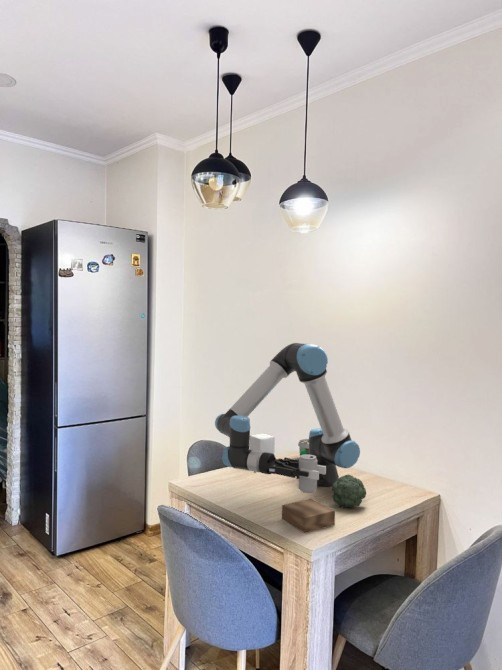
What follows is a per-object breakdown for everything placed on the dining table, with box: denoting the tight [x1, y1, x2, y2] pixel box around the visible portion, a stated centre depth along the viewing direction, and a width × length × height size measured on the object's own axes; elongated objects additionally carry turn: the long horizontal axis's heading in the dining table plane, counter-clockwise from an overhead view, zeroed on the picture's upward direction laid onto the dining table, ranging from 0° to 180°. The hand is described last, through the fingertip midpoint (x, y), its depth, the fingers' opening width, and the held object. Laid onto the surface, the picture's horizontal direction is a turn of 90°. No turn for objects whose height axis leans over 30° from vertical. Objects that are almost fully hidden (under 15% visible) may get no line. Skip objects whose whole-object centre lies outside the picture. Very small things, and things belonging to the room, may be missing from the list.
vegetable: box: [331, 474, 367, 509], centre depth 184 cm, size 12×13×15 cm
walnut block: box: [281, 498, 336, 534], centre depth 167 cm, size 13×13×5 cm
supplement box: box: [249, 433, 276, 455], centre depth 230 cm, size 9×9×15 cm
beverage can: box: [297, 454, 318, 494], centre depth 166 cm, size 6×6×12 cm
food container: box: [297, 438, 309, 457], centre depth 241 cm, size 12×6×10 cm, turn 178°
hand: (321, 472), depth 164 cm, fingers closed on beverage can, 6 cm apart
